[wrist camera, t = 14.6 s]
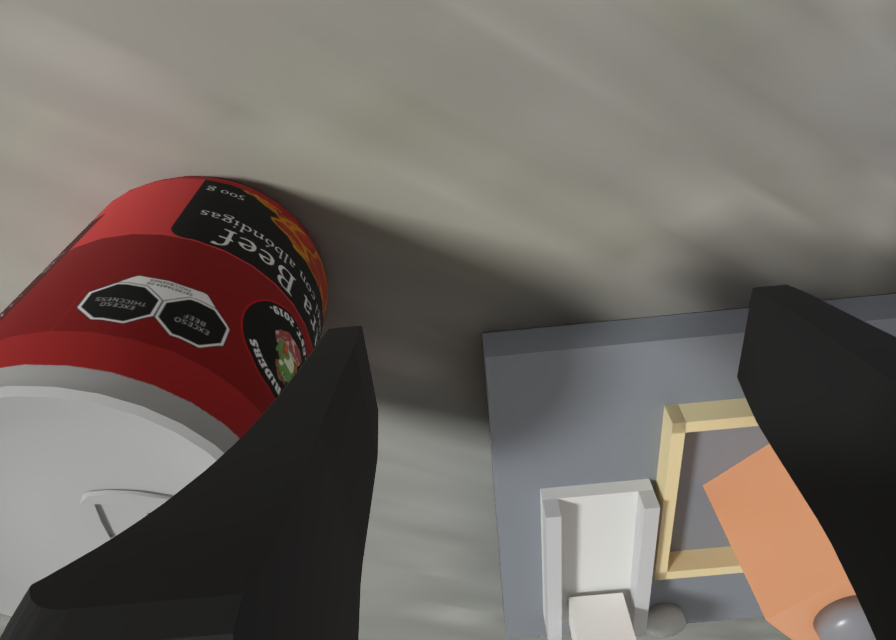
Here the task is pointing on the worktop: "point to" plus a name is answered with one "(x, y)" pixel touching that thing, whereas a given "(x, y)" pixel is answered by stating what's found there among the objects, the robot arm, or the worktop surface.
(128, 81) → the worktop surface
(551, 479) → the panel
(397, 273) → the worktop surface
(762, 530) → the cap
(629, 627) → the block
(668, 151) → the worktop surface
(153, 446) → the canned food
